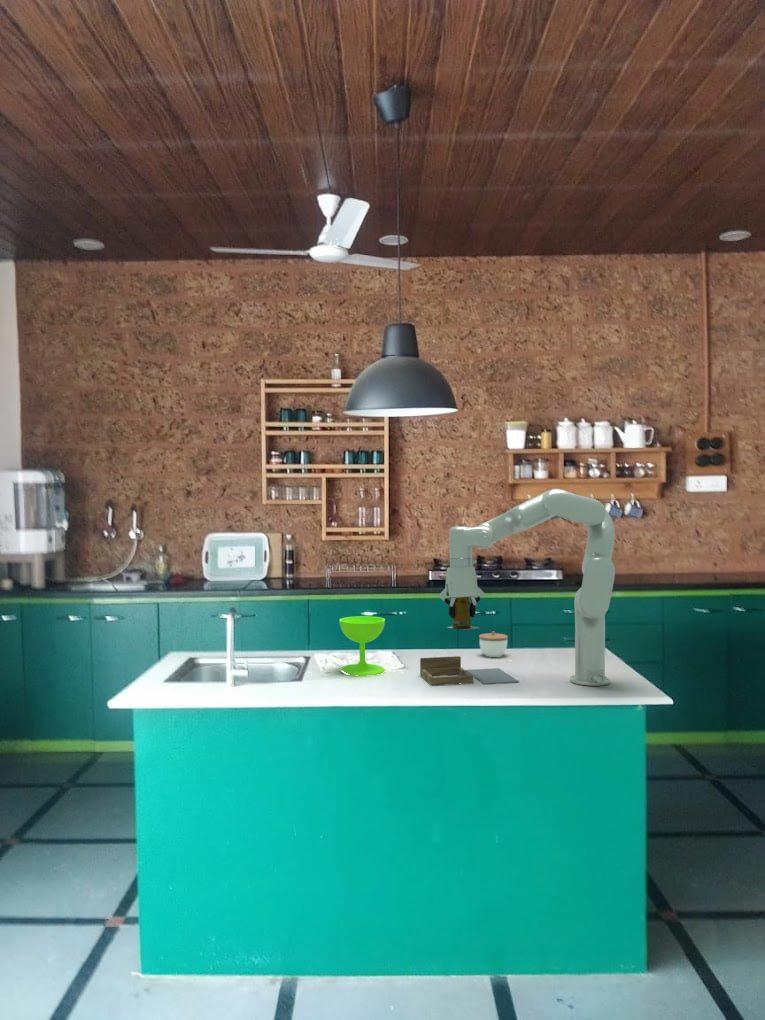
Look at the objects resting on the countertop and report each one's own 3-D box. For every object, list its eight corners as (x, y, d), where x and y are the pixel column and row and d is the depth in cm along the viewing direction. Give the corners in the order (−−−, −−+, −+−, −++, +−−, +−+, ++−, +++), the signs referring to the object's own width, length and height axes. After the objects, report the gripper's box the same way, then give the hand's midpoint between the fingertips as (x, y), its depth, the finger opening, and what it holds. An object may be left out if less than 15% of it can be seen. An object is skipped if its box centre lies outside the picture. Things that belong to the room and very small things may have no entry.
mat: (518, 682, 277) (518, 681, 277) (483, 684, 275) (483, 682, 275) (498, 669, 297) (498, 668, 297) (465, 671, 294) (465, 669, 294)
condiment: (461, 625, 288) (461, 590, 288) (480, 628, 281) (479, 592, 281) (446, 627, 283) (445, 592, 283) (464, 630, 277) (463, 594, 276)
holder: (473, 683, 276) (473, 665, 276) (431, 685, 273) (431, 667, 273) (459, 673, 291) (459, 656, 291) (420, 675, 288) (420, 657, 288)
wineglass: (377, 677, 285) (377, 624, 285) (332, 674, 290) (332, 622, 289) (390, 667, 300) (390, 617, 300) (348, 665, 305) (348, 615, 305)
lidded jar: (500, 652, 327) (500, 628, 327) (512, 658, 317) (512, 633, 316) (474, 654, 324) (474, 629, 324) (485, 659, 314) (485, 634, 314)
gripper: (482, 561, 287) (483, 614, 288) (433, 563, 284) (434, 617, 284) (489, 563, 280) (490, 617, 280) (439, 565, 276) (440, 620, 277)
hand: (462, 616), depth 282 cm, fingers closed on condiment, 6 cm apart
